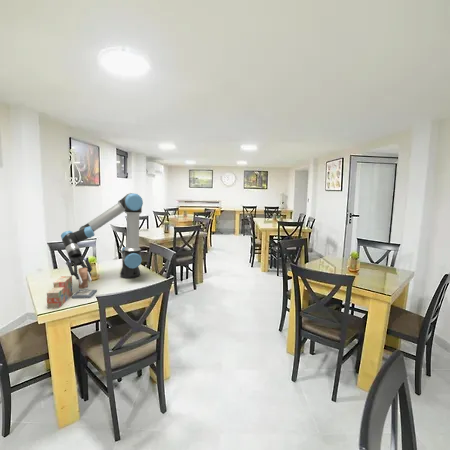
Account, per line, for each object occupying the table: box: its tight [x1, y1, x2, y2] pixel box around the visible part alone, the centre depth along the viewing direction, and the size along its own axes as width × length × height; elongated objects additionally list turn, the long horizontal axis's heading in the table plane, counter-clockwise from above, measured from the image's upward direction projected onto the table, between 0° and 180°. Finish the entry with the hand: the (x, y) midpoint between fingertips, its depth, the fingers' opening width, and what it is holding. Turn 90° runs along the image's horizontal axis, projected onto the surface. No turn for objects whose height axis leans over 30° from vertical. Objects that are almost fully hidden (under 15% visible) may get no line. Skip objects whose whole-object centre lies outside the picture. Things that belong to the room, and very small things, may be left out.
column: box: [77, 267, 89, 289], centre depth 174 cm, size 5×5×12 cm
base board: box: [71, 289, 98, 300], centre depth 175 cm, size 11×11×2 cm
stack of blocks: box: [46, 275, 74, 309], centre depth 165 cm, size 21×6×12 cm, turn 10°
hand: (86, 282), depth 172 cm, fingers closed on column, 5 cm apart
